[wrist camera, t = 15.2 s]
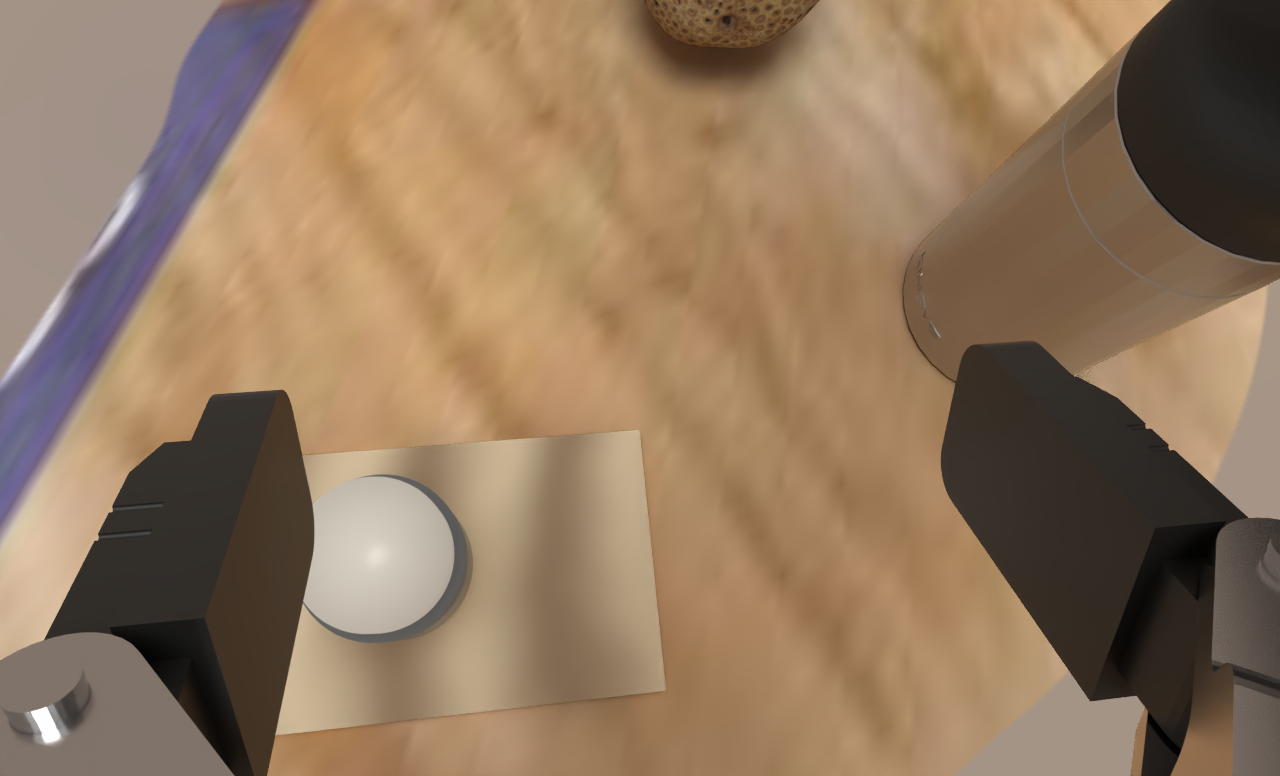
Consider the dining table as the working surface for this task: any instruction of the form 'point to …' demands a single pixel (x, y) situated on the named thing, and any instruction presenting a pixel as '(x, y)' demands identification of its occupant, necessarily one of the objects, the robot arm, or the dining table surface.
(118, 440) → the dining table surface
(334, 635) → the oak board
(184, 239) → the dining table surface
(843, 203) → the dining table surface
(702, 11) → the natural sponge
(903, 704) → the dining table surface
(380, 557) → the grey banded cylinder
